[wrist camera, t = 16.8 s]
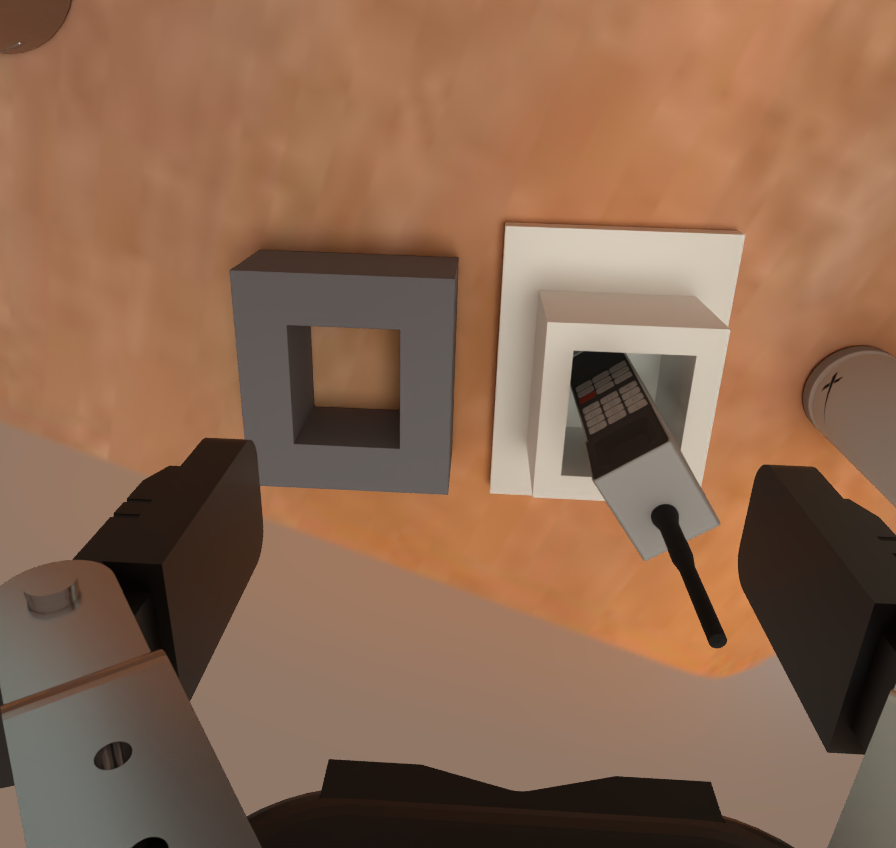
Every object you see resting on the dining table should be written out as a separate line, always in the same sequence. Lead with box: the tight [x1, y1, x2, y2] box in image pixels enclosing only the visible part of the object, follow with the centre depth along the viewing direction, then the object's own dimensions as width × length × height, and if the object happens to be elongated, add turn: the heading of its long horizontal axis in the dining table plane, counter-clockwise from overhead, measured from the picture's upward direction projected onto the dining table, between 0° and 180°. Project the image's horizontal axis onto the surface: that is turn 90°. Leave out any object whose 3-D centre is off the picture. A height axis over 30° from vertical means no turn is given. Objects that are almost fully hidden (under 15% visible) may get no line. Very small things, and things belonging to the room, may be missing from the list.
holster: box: [230, 250, 459, 495], centre depth 47 cm, size 14×12×6 cm
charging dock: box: [490, 222, 745, 501], centre depth 45 cm, size 18×14×8 cm
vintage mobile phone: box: [570, 351, 727, 648], centre depth 36 cm, size 4×5×25 cm
